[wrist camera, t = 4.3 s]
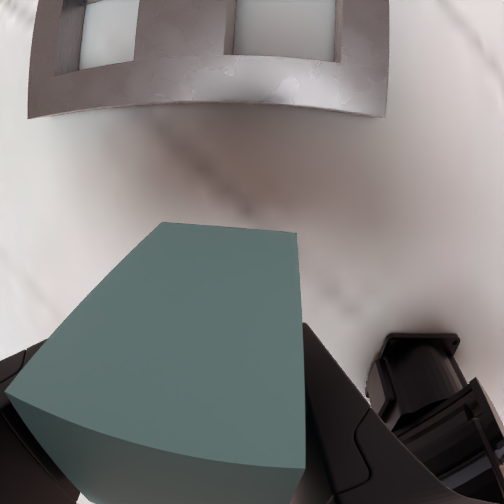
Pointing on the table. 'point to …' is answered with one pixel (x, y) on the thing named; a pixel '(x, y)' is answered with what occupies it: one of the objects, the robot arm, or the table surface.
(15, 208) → the table surface
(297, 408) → the teal block
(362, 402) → the robot arm
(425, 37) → the table surface
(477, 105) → the table surface
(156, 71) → the square-hole rail
